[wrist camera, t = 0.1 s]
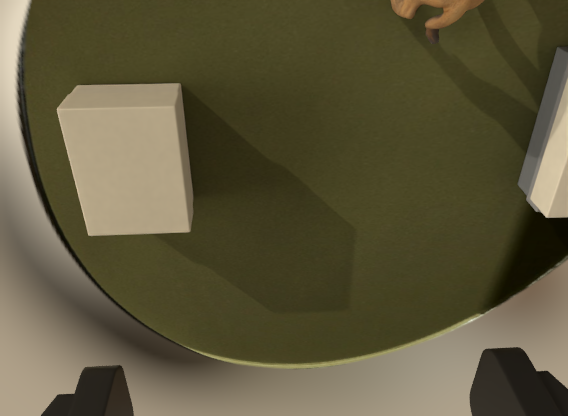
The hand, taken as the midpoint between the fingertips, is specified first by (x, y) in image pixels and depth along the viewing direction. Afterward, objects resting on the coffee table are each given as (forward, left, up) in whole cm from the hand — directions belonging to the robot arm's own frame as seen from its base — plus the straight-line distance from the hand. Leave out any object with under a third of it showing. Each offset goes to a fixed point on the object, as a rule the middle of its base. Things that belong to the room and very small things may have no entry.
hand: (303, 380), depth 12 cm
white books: (+5, -8, -22) cm, 24 cm away
